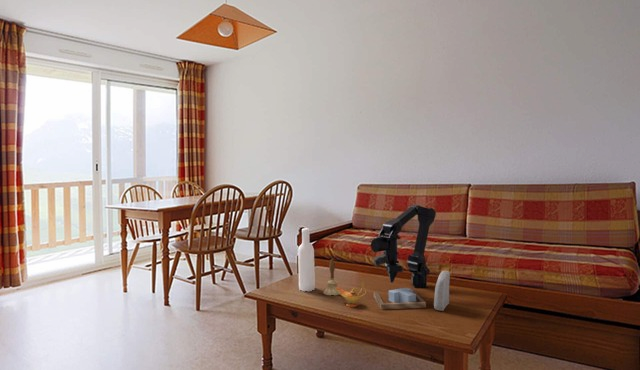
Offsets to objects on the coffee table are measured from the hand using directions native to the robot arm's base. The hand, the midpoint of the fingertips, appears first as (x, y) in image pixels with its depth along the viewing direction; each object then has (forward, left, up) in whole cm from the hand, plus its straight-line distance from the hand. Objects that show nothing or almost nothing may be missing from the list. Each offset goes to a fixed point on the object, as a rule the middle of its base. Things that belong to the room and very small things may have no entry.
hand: (391, 282), depth 180 cm
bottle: (+40, -10, -5) cm, 42 cm away
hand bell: (+28, -3, -5) cm, 29 cm away
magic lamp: (+22, +13, -5) cm, 26 cm away
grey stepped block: (-2, +12, -5) cm, 13 cm away
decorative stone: (-16, +21, -5) cm, 27 cm away
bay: (0, +12, -5) cm, 13 cm away
